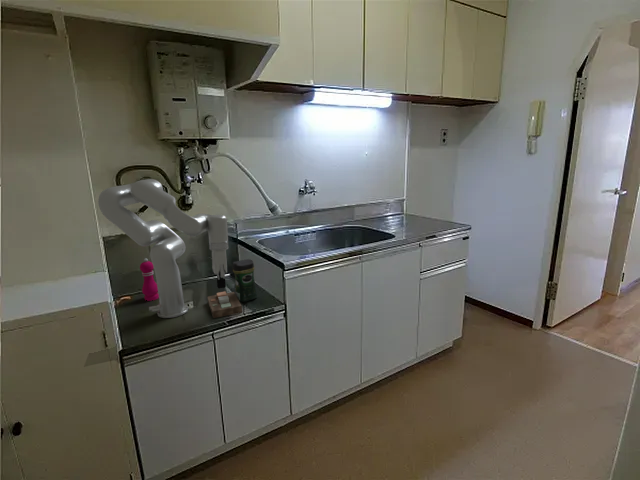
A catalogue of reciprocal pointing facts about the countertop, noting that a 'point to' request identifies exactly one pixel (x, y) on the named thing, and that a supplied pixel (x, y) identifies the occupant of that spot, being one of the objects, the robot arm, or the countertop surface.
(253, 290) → the coffee jar
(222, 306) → the sage key
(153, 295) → the pepper mill
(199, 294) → the countertop surface
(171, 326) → the countertop surface
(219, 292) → the terracotta key
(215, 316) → the keypad
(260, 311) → the countertop surface
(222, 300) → the grey key
